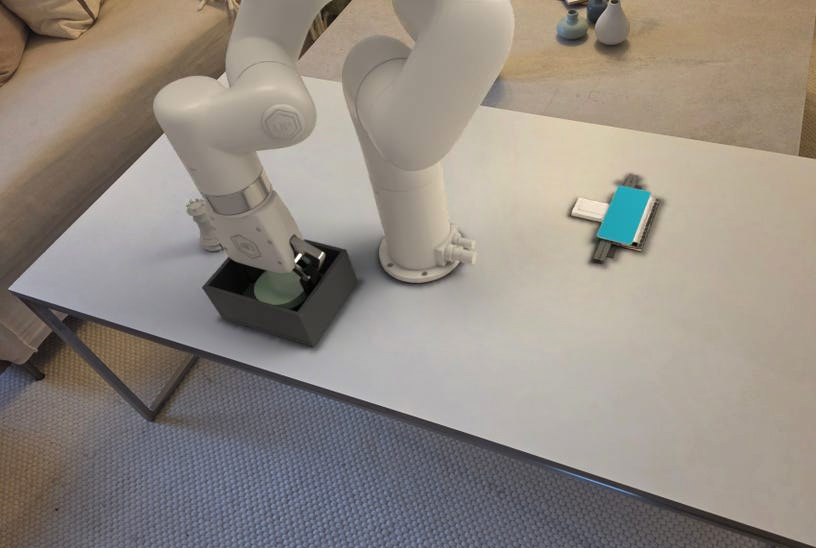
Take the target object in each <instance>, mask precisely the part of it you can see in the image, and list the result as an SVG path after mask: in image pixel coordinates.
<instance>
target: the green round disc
mask: <svg viewBox="0 0 816 548" xmlns="http://www.w3.org/2000/svg"><path fill="white" fill-rule="evenodd" d="M300 278H301V277H299V276H298V275H297V274H296V273H295V272H293V271H291V272H290V273H287V274H281V273H276V272H272V271H268V270H267V271H266V272H264V273H263V274H262V275H261V276H260V277H259V278H258V280H257V281H256V283H255V286H254V294H255V296H256V298H257V300H259V301H262V302H265V303H269V304H272V305H276V306H279V307H282V308H286V309H289V310H290V309H292V308H294V307H296V306H298V305H299V304H301V303H302V302H303V301H304V300H305V299H306V298H307V296H306V294H305V292H304V290H303V288H302V286H301V284H300Z"/></svg>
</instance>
